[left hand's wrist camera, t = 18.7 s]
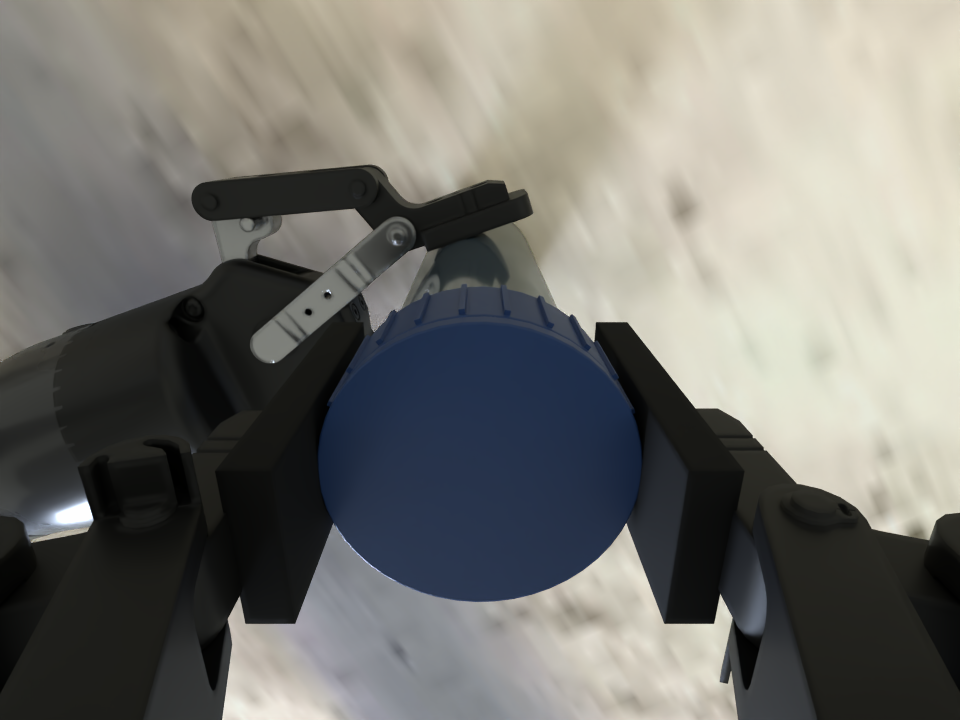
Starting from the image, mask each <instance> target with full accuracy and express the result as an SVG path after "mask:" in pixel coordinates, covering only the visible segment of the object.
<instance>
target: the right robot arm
mask: <svg viewBox="0 0 960 720" xmlns="http://www.w3.org/2000/svg"><path fill="white" fill-rule="evenodd" d="M192 204H193V207H194V209H195V211H196V212H197V213H198V214H199V215H200V216H201V217H202V218H204V219H206V220H209V221H212V224H213V228H214V232H215V236H216V240H217V244H218V248H219V252H220V255H221V259H222V264H220V265H219V266H218V267H216V268H215V269H214V271H213V272H212V274H211V275H210V276H209V278H208V279H207V280H206V281H205V282H204V283H203V284H201V285H199V286H196V287H193V288H190V289H188V290H185V291H182V292H179V293H177V294H174V295H171V296H168V297H166V298H163V299H160V300H157V301H155V302H152V303H149V304H146V305H144V306H141V307H138V308H135V309H132V310H130V311H127V312H124V313H121V314H118V315H116V316H113V317H110V318H107V319H105V320H102V321H99V322H96V323H91V324H85V325H81V326H77V327H74V328H71V329H68V330H67V331H66V332H64V333H63V334H62V335H60V336H58V337H55V338H52V339H49V340H46V341H44V342H41V343H38V344H36V345H33V346H31V347H29V348H26V349H25V350H23V351H21V352H19V353H17V354H15V355H13V356H11V357H9V358H7V359H6V360H4V361H2V362H0V516H8V517H16V518H17V519H18V520H20V521H21V522H23V523H24V525H25V527H26V530H27V533H28V536H29V538H30V540H33V539H37V538H40V537H43V536H46V535H49V534H52V533H57V532H61V531H66V530H72V529H80V528H86V527H90V526H91V524H92V522H93V517H92V514H91V510H90V507H89V504H88V501H87V497H86V494H85V491H84V488H83V484H82V481H81V478H80V474H79V471H78V468H77V467H78V466H79V465H80V464H81V463H82V462H83V461H84V460H85V459H86V458H87V457H89V456H90V455H92V454H94V453H96V452H98V451H99V450H101V449H103V448H105V447H107V446H110V445H113V444H116V443H119V442H121V441H124V440H128V439H133V438H138V437H143V436H148V435H170V436H176V437H181V438H183V439H184V440H185V441H187V442H188V443H190V448H191V453H192V454H193V453H196V449H197V448H198V447H199V446H200V445H201V444H202V443H203V442H204V441H205V440H207V437H208V436H209V435H210V434H211V433H212V432H213V431H214V430H215V428H216V427H217V426H218V425H219V424H220V423H221V422H223V421H225V420H227V419H228V418H230V417H232V416H234V415H235V414H237V413H239V412H241V411H263V409H264V408H265V407H266V406H267V404H268V403H269V402H270V401H271V399H272V398H273V397H274V396H275V394H276V393H277V392H278V390H279V389H280V388H281V387H282V385H283V384H284V383H285V382H286V380H287V379H288V378H289V377H290V375H291V374H292V373H293V371H294V370H295V369H296V368H297V366H298V365H299V364H300V363H301V361H302V360H303V359H304V358H305V356H306V355H307V354H308V353H309V351H310V350H311V349H312V347H313V346H314V345H315V344H316V342H317V341H318V340H319V339H320V337H321V336H322V335H323V334H324V332H325V331H326V330H327V328H328V327H329V326H330V325H331V323H332V322H364V335H365V337H366V336H367V335H369V336H370V337H371V336H372V335H373V334H374V332H373V330H372V329H371V325H370V318H369V312H368V307H367V305H366V303H365V300H364V298H363V296H362V293H361V292H362V291H363V290H364V289H365V288H366V287H367V286H368V285H369V284H370V283H371V282H372V281H373V280H375V279H376V278H377V277H378V276H379V275H380V274H382V273H383V272H384V271H385V270H386V269H388V268H389V267H390V266H391V265H392V264H394V263H395V262H396V261H397V260H398V259H400V258H401V257H402V256H403V255H404V254H406V253H407V252H408V251H411V250H413V249H416V248H419V247H422V246H426V249H427V252H429V251H432V250H435V249H438V248H441V247H444V246H447V245H449V244H452V243H454V242H457V241H461V240H464V239H466V238H469V237H472V236H475V235H478V234H481V233H484V232H486V231H489V230H492V229H495V228H498V227H501V226H504V225H506V224H509V223H512V222H515V221H518V220H521V219H523V218H526V217H528V216H530V215H532V214H533V210H532V207H531V204H530V200H529V197H528V194H527V192H526V191H525V189H521V190H517V191H514V192H511V193H508V192H507V188H506V185H505V183H504V181H498V180H486V181H484V182H481V183H478V184H475V185H473V186H470V187H467V188H464V189H462V190H459V191H456V192H453V193H451V194H448V195H445V196H442V197H440V198H437V199H434V200H431V201H428V202H426V203H422V204H414V203H410V202H408V201H406V200H405V199H403V198H402V197H401V196H400V195H399V193H398V192H397V191H396V190H395V189H394V187H393V186H392V185H391V184H390V183H389V181H388V177H387V175H386V173H385V172H384V171H383V170H382V169H381V168H380V167H378V166H375V165H361V166H350V167H340V168H329V169H318V170H308V171H297V172H286V173H275V174H265V175H254V176H243V177H234V178H228V179H222V180H216V181H211V182H205V183H201V184H199V185H198V186H196V187H195V189H194V190H193V193H192ZM354 208H355V209H356V210H357V211H358V213H359V214H360V215H361V216H362V217H363V218H364V220H365V221H366V222H367V223H368V224H369V225H370V226H371V228H372V229H373V230H374V231H373V232H371V233H370V234H369V235H368V236H367V237H366V238H364V239H363V240H362V241H361V242H360V243H359V244H357V245H356V246H355V247H354V248H353V249H352V250H350V251H349V252H348V253H347V254H346V255H345V256H344V257H342V258H341V259H340V260H339V261H338V262H337V263H335V264H334V265H333V266H332V267H331V268H330V269H328V270H327V271H326V272H325V273H321V272H318V271H314V270H311V269H307V268H304V267H300V266H297V265H293V264H290V263H286V262H283V261H280V260H276V259H273V258H269V257H266V256H262V255H259V254H257V245H258V243H259V241H260V240H261V239H263V238H265V237H267V236H270V235H272V234H274V233H276V232H277V231H278V230H279V228H280V226H281V223H282V217H281V215H288V214H299V213H310V212H321V211H332V210H343V209H354Z"/></svg>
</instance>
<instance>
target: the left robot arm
mask: <svg viewBox="0 0 960 720" xmlns="http://www.w3.org/2000/svg"><path fill="white" fill-rule="evenodd" d="M364 338H365V335H364V322H332V323H331V325H330V326H329V327H328V328H327V330H326V331H325V332H324V334H323V335H322V336H321V337H320V339H319V340H318V341H317V342H316V344H315V345H314V346H313V347H312V349H311V350H310V351H309V353H308V354H307V355H306V356H305V358H304V359H303V360H302V361H301V363H300V364H299V365H298V366H297V368H296V369H295V370H294V371H293V373H292V374H291V375H290V377H289V378H288V379H287V380H286V382H285V383H284V384H283V385H282V387H281V388H280V389H279V390H278V392H277V393H276V394H275V396H274V397H273V398H272V399H271V401H270V402H269V403H268V404H267V406H266V407H265V408H264V409H263V411H241V412H239V413H237V414H235V415H234V416H232V417H230V418H228V419H227V420H225V421H223V422H221V423H220V424H219V425H218V426H217V427H216V428H215V430H214V431H213V432H212V433H211V434H210V435H209V436H208V437H207V440H205V441H204V442H203V443H202V444H201V445H200V446H199V447H198V448H197V449H196V453H193V454H192V453H191V448H190V443H188V442H187V441H185V440H184V439H183V438H181V437H176V436H170V435H148V436H143V437H138V438H133V439H128V440H124V441H121V442H119V443H116V444H113V445H110V446H107V447H105V448H103V449H101V450H99V451H98V452H96V453H94V454H92V455H90V456H89V457H87V458H86V459H85V460H84V461H83V462H82V463H81V464H80V465H79V466H78V467H77V468H78V471H79V474H80V478H81V481H82V484H83V488H84V491H85V494H86V497H87V501H88V504H89V507H90V510H91V514H92V517H93V522H92V524H91V526H90V528H89V530H88V532H85V533H81V534H76V535H71V536H65V537H60V538H55V539H50V540H45V541H40V542H34V543H31V541H30V538H29V536H28V533H27V530H26V527H25V525H24V523H23V522H21V521H20V520H18V519H17V518H16V517H8V516H0V720H222V716H223V708H224V701H225V693H226V686H227V679H228V671H229V664H230V656H231V649H232V640H231V633H230V628H229V624H228V617H229V615H230V613H231V611H232V610H233V608H234V606H235V604H236V602H237V600H238V598H239V596H240V598H241V603H242V608H243V613H244V618H245V623H246V624H295V623H296V620H297V617H298V615H299V612H300V609H301V607H302V604H303V601H304V599H305V596H306V594H307V591H308V588H309V586H310V583H311V580H312V578H313V575H314V572H315V570H316V567H317V564H318V562H319V559H320V557H321V554H322V551H323V549H324V546H325V543H326V541H327V538H328V535H329V533H330V530H331V527H332V525H333V521H332V519H331V517H330V515H329V513H328V511H327V509H326V506H325V503H324V500H323V496H322V493H321V488H320V480H319V472H318V461H317V452H318V445H319V437H320V433H321V430H322V426H323V423H324V420H325V417H326V415H327V412H328V410H329V408H330V407H329V406H327V404H328V401H329V399H330V398H331V396H332V394H333V392H334V391H335V389H336V387H337V385H338V384H339V382H340V380H341V378H342V377H343V375H344V373H345V371H346V370H347V368H348V366H349V364H350V363H351V361H352V359H353V357H354V356H355V354H356V352H357V350H358V349H359V347H360V345H361V343H362V342H363V340H364ZM595 341H598V343H599V344H600V346H601V347H602V349H603V351H604V353H605V354H606V356H607V358H608V360H609V361H610V363H611V365H612V367H613V368H614V370H615V372H616V373H617V375H618V377H619V378H618V381H619V383H620V385H621V386H622V388H623V390H624V392H625V393H626V395H627V397H628V399H629V400H630V402H631V404H632V406H633V408H634V410H635V414H633V416H634V418H635V421H636V423H637V426H638V431H639V435H640V439H641V444H642V469H641V477H640V485H639V492H638V496H637V500H636V502H635V505H634V507H633V510H632V512H631V515H630V517H629V519H628V520H627V522H626V523H627V526H628V528H629V531H630V534H631V536H632V539H633V542H634V544H635V547H636V550H637V552H638V555H639V558H640V560H641V563H642V565H643V568H644V571H645V573H646V576H647V579H648V581H649V584H650V587H651V589H652V592H653V595H654V597H655V600H656V602H657V605H658V608H659V610H660V613H661V616H662V618H663V621H664V624H714V621H715V616H716V611H717V606H718V601H719V596H720V594H721V596H722V598H723V600H724V602H725V603H726V605H727V607H728V609H729V611H730V613H731V615H732V617H733V619H732V624H731V628H730V633H729V637H728V642H727V647H726V651H725V656H724V661H723V665H722V670H721V677H720V682H723V683H727V684H728V681H729V676H730V672H731V671H732V677H733V685H734V692H735V699H736V707H737V714H738V720H960V513H954V514H945V515H944V516H942V517H941V518H940V519H938V520H937V521H936V523H935V526H934V529H933V531H932V534H931V537H930V540H924V539H919V538H914V537H908V536H903V535H898V534H893V533H887V532H882V531H878V530H874V529H871V527H870V525H869V523H868V521H867V520H866V518H865V517H864V516H863V515H862V514H861V513H860V511H859V510H858V509H857V508H856V507H854V506H853V505H851V504H850V503H848V502H847V501H845V500H844V499H842V498H841V497H838V496H836V495H834V494H831V493H829V492H826V491H824V490H822V489H818V488H814V487H809V486H805V485H801V484H796V482H795V481H794V480H793V479H792V478H791V477H790V476H789V475H788V474H787V473H786V471H785V470H784V469H783V468H782V467H781V466H780V465H779V464H778V463H777V462H776V461H775V459H774V458H773V457H772V456H771V455H770V454H769V453H768V452H767V451H764V447H763V446H762V445H761V444H760V443H759V442H758V441H757V440H756V439H755V438H753V435H752V434H751V433H750V432H749V431H748V430H747V429H746V428H745V426H744V425H743V424H742V423H741V422H740V421H739V420H737V419H735V418H733V417H732V416H730V415H728V414H726V413H725V412H723V411H721V410H719V409H695V407H694V406H693V405H692V404H691V402H690V401H689V400H688V399H687V397H686V396H685V395H684V393H683V392H682V391H681V390H680V388H679V387H678V386H677V385H676V383H675V382H674V381H673V380H672V378H671V377H670V376H669V375H668V373H667V372H666V371H665V369H664V368H663V367H662V366H661V364H660V363H659V362H658V361H657V359H656V358H655V357H654V356H653V354H652V353H651V352H650V350H649V349H648V348H647V347H646V345H645V344H644V343H643V342H642V340H641V339H640V338H639V337H638V335H637V334H636V333H635V332H634V330H633V329H632V328H631V326H630V325H629V324H628V323H627V322H596V330H595Z"/></svg>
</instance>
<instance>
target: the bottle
mask: <svg viewBox="0 0 960 720" xmlns="http://www.w3.org/2000/svg"><path fill="white" fill-rule="evenodd" d="M462 284H467V287H482V286H485V287H496V288H501V285H506V286H507V289H509V290H514V291H518V292H522V293H525V294H528V295H530V296H533V297H536V298H538V296H539V295H540V296H543V297H544V299H545V302H546V303H548V304H550V305H552V306H554V307H556V304H555V302H554V300H553V298H552V295H551V293H550V291H549V289H548V287H547V284H546V282H545V280H544V278H543V276H542V273H541V271H540V269H539V267H538V264H537V262H536V260H535V258H534V256H533V253H532V251H531V249H530V247H529V245H528V242H527V240H526V238H525V237H524V235H523V233H522V232H521V231H520V229H519V228H518V227H517V226H516V225H515V224H514V223H509V224H506V225H504V226H501V227H498V228H495V229H492V230H489V231H486V232H484V233H481V234H478V235H475V236H472V237H469V238H466V239H464V240H461V241H457V242H454V243H452V244H449V245H447V246H444V247H441V248H438V249H435V250H432V251H429V252H427V253H426V256H425V258H424V260H423V262H422V264H421V267H420V269H419V271H418V273H417V275H416V278H415V280H414V282H413V284H412V286H411V289H410V291H409V293H408V295H407V298H406V300H405V302H404V304H403V306H402V309H403V308H404V307H406V306H408V305H409V304H411V303H413V302H415V301H417V300H420V299H422V297H423V294H424V293H427V292H429V295H432V294H435V293H439V292H442V291H445V290H451V289H457V288H461V285H462ZM556 308H557V307H556Z"/></svg>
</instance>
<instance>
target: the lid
mask: <svg viewBox="0 0 960 720" xmlns="http://www.w3.org/2000/svg"><path fill="white" fill-rule="evenodd" d="M618 378H619V377H618V375H617V373H616V372H615V370H614V368H613V367H612V365H611V363H610V361H609V360H608V358H607V356H606V354H605V353H604V351H603V349H602V347H601V346H600V344H599V343H598V341H595V342H593V341H592V340H591V339H590V337H589V336H588V335H587V334H586V332H585V331H584V330H583V329H582V328H581V327H580V325H579V323H578V321H577V319H576V317H575V316H573V315H571V316H570V317H569V316H567V315H566V314H564V313H563V312H562V311H560V310H559V309H557V308H556V307H554V306H552V305H550V304H548V303H546V302H545V299H544V297H543V296H540V295H539V296H538V298H536V297H533V296H530V295H528V294H525V293H522V292H518V291H514V290H509V289H507V286H506V285H501V288H496V287H485V286H482V287H467V284H462V285H461V288H457V289H451V290H445V291H442V292H439V293H435V294H432V295H429V292H427V293H424V294H423V297H422V299H420V300H417V301H415V302H413V303H411V304H409V305H408V306H406V307H404V308H403V309H401V310H400V311H398V312H396V311H395V310H393V311H392V312H390V314H389V316H388V318H387V320H386V321H385V322H384V323H383V324H382V325H381V326H380V327H379V328H378V329H377V330H376V331H375V332H374V334H373V335H372V336H371V337H370V336H369V335H367V336H366V337H365V338H364V340H363V342H362V343H361V345H360V347H359V349H358V350H357V352H356V354H355V356H354V357H353V359H352V361H351V363H350V364H349V366H348V368H347V370H346V371H345V373H344V375H343V377H342V378H341V380H340V382H339V384H338V385H337V387H336V389H335V391H334V392H333V394H332V396H331V398H330V399H329V401H328V404H327V406H329V407H330V408H329V410H328V412H327V415H326V417H325V420H324V423H323V426H322V430H321V433H320V437H319V445H318V452H317V461H318V472H319V480H320V488H321V493H322V496H323V500H324V503H325V506H326V509H327V511H328V513H329V515H330V517H331V519H332V521H333V523H334V525H335V526H336V528H337V529H338V531H339V532H340V534H341V535H342V537H343V538H344V540H345V541H346V542H347V543H348V544H349V545H350V546H351V548H352V549H353V550H354V551H355V552H356V553H357V554H358V555H359V556H360V557H361V558H362V559H364V560H365V561H366V562H367V563H368V564H369V565H370V566H372V567H373V568H375V569H376V570H378V571H379V572H380V573H382V574H383V575H385V576H386V577H388V578H390V579H392V580H394V581H396V582H398V583H399V584H401V585H404V586H406V587H409V588H411V589H414V590H416V591H418V592H421V593H425V594H428V595H432V596H436V597H440V598H445V599H451V600H457V601H471V602H489V601H501V600H509V599H515V598H520V597H524V596H528V595H532V594H535V593H538V592H541V591H544V590H546V589H549V588H552V587H554V586H556V585H558V584H560V583H562V582H564V581H566V580H568V579H570V578H571V577H573V576H575V575H576V574H578V573H579V572H581V571H583V570H584V569H585V568H587V567H588V566H589V565H590V564H592V563H593V562H594V561H595V560H597V559H598V558H599V557H600V556H601V555H602V554H603V553H604V552H605V551H606V550H607V549H608V548H609V547H610V546H611V544H612V543H613V542H614V540H615V539H616V538H617V536H618V535H619V534H620V532H621V531H622V529H623V527H624V526H625V524H626V522H627V520H628V519H629V517H630V515H631V512H632V510H633V507H634V505H635V502H636V500H637V496H638V492H639V485H640V477H641V469H642V444H641V439H640V435H639V431H638V426H637V423H636V421H635V418H634V416H633V414H635V410H634V408H633V406H632V404H631V402H630V400H629V399H628V397H627V395H626V393H625V392H624V390H623V388H622V386H621V385H620V383H619V381H618Z"/></svg>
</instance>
